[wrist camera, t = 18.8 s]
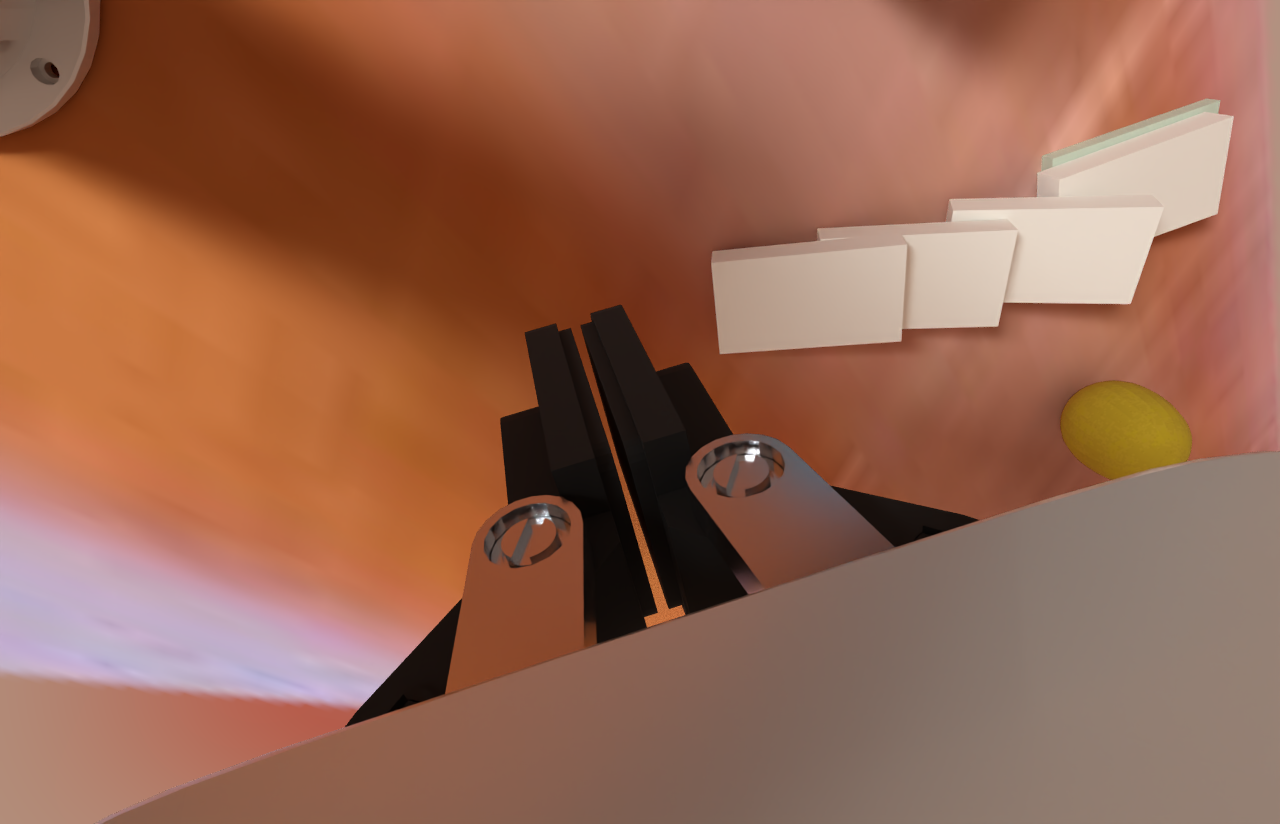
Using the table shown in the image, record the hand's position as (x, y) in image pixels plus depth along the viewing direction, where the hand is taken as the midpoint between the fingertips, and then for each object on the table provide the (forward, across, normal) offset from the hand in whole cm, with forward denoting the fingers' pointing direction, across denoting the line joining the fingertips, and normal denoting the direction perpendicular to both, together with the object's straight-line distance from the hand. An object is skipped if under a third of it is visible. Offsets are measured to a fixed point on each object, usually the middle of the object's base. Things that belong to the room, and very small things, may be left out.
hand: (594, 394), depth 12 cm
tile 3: (+21, -20, +10) cm, 30 cm away
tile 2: (+21, -13, +10) cm, 27 cm away
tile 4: (+20, -25, +10) cm, 34 cm away
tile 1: (+21, -8, +10) cm, 25 cm away
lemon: (+21, -30, +23) cm, 43 cm away
